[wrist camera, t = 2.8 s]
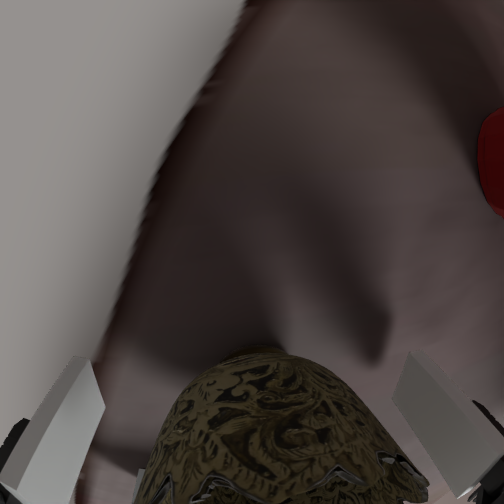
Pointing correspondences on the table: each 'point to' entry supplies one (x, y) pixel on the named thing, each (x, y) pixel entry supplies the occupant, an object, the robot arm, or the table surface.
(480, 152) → the plastic cup
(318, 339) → the table surface
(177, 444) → the cup
